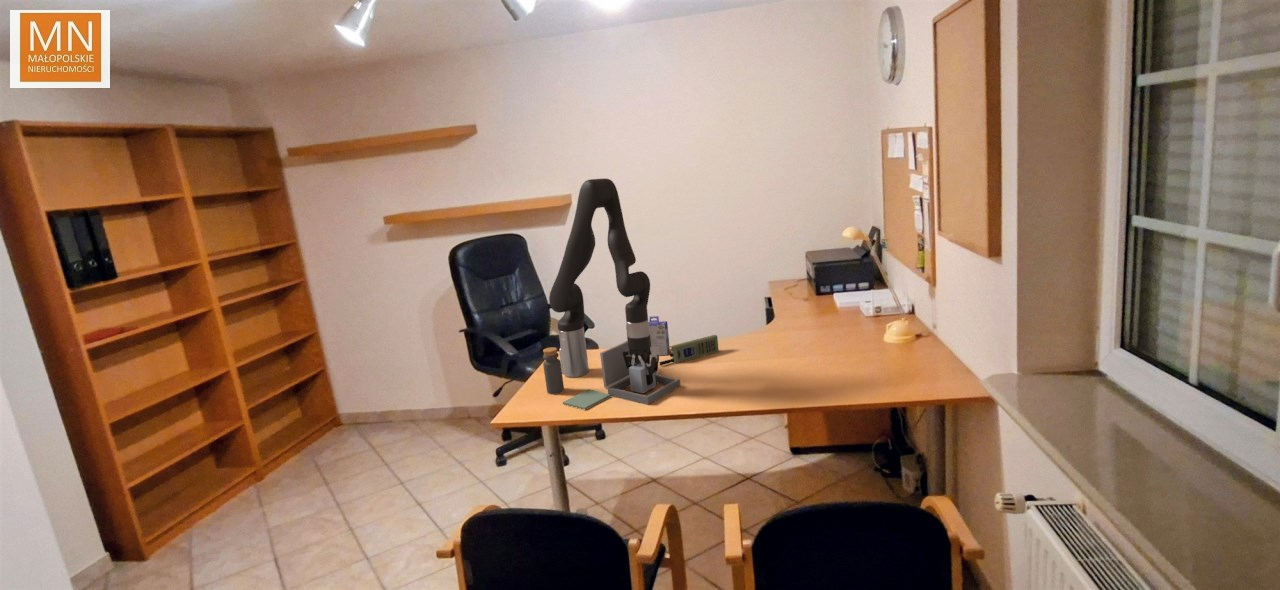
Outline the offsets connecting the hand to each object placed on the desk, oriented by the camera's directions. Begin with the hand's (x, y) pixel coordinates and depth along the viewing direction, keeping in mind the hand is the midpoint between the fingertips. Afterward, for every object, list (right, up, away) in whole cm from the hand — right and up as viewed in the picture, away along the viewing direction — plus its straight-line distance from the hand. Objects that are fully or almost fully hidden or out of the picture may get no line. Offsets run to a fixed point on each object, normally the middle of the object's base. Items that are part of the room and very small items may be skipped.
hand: (643, 382), depth 207 cm
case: (0, -3, +1) cm, 3 cm away
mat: (-18, -5, -3) cm, 19 cm away
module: (0, -2, 0) cm, 2 cm away
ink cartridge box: (+6, +6, +37) cm, 38 cm away
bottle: (-30, -4, +8) cm, 31 cm away
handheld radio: (+17, +5, +27) cm, 33 cm away
